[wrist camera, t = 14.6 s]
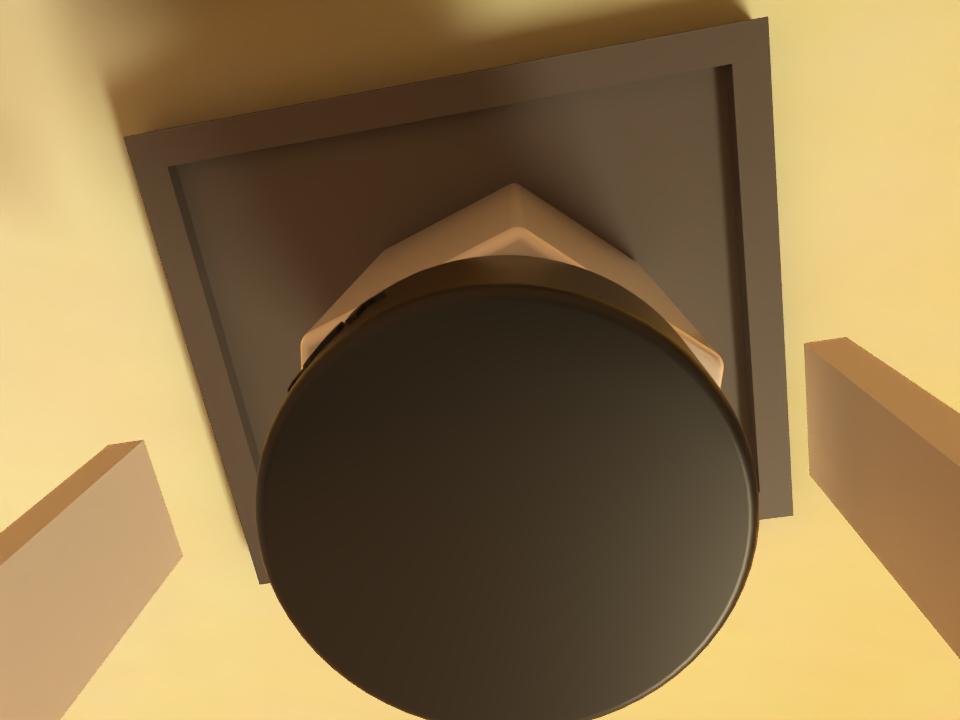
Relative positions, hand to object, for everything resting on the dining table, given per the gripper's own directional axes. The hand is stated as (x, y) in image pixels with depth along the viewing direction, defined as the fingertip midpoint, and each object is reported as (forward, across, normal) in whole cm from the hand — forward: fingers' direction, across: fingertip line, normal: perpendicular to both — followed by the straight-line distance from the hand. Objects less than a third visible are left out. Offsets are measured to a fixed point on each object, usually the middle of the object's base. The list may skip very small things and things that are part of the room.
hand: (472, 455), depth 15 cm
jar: (+9, -1, 0) cm, 9 cm away
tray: (+10, 0, 0) cm, 10 cm away
